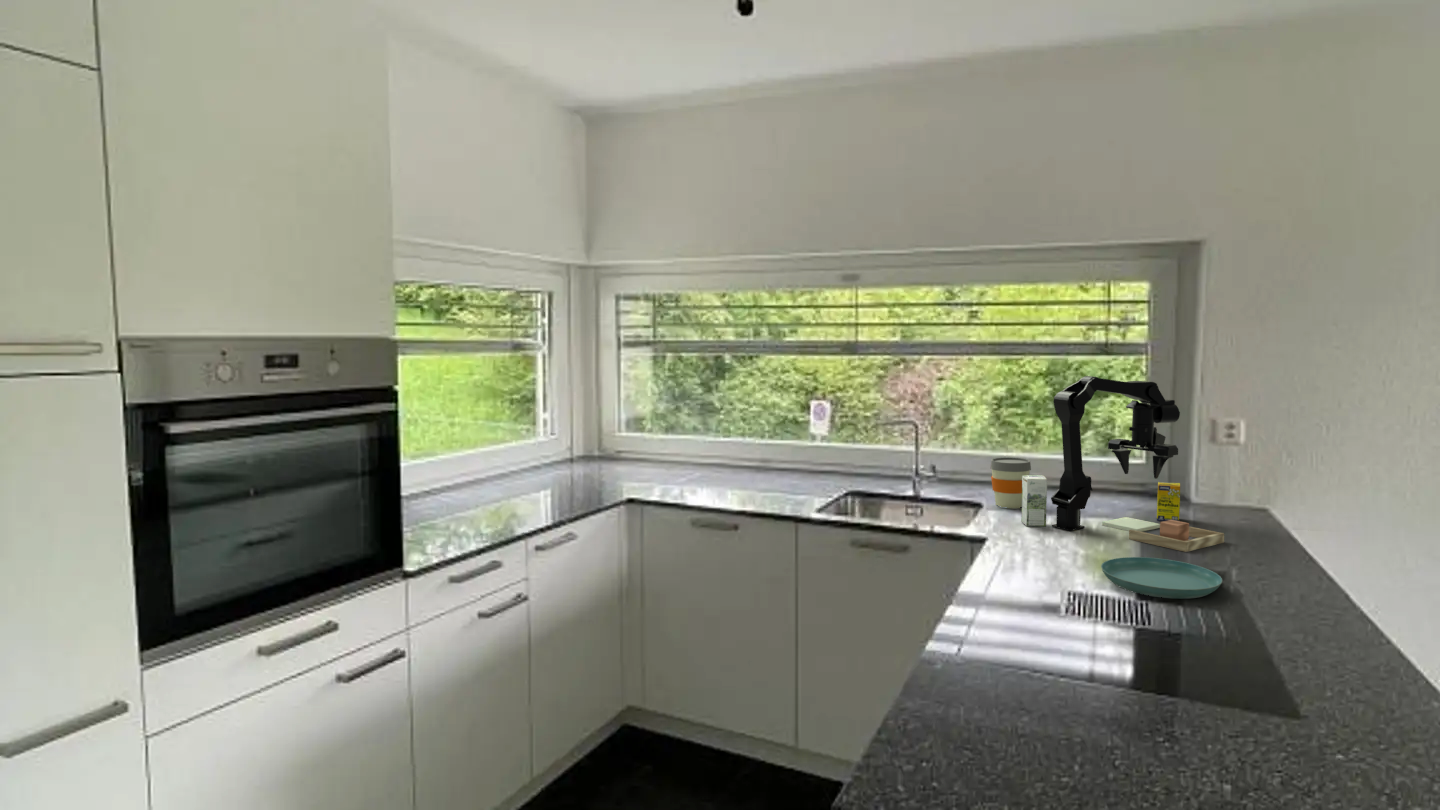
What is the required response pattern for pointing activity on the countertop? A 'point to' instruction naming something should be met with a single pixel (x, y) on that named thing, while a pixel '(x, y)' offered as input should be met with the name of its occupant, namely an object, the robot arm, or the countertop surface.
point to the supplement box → (1168, 501)
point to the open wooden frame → (1201, 541)
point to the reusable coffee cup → (1009, 480)
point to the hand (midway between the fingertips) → (1141, 476)
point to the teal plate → (1161, 577)
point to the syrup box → (1034, 500)
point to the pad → (1131, 524)
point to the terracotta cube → (1175, 530)
